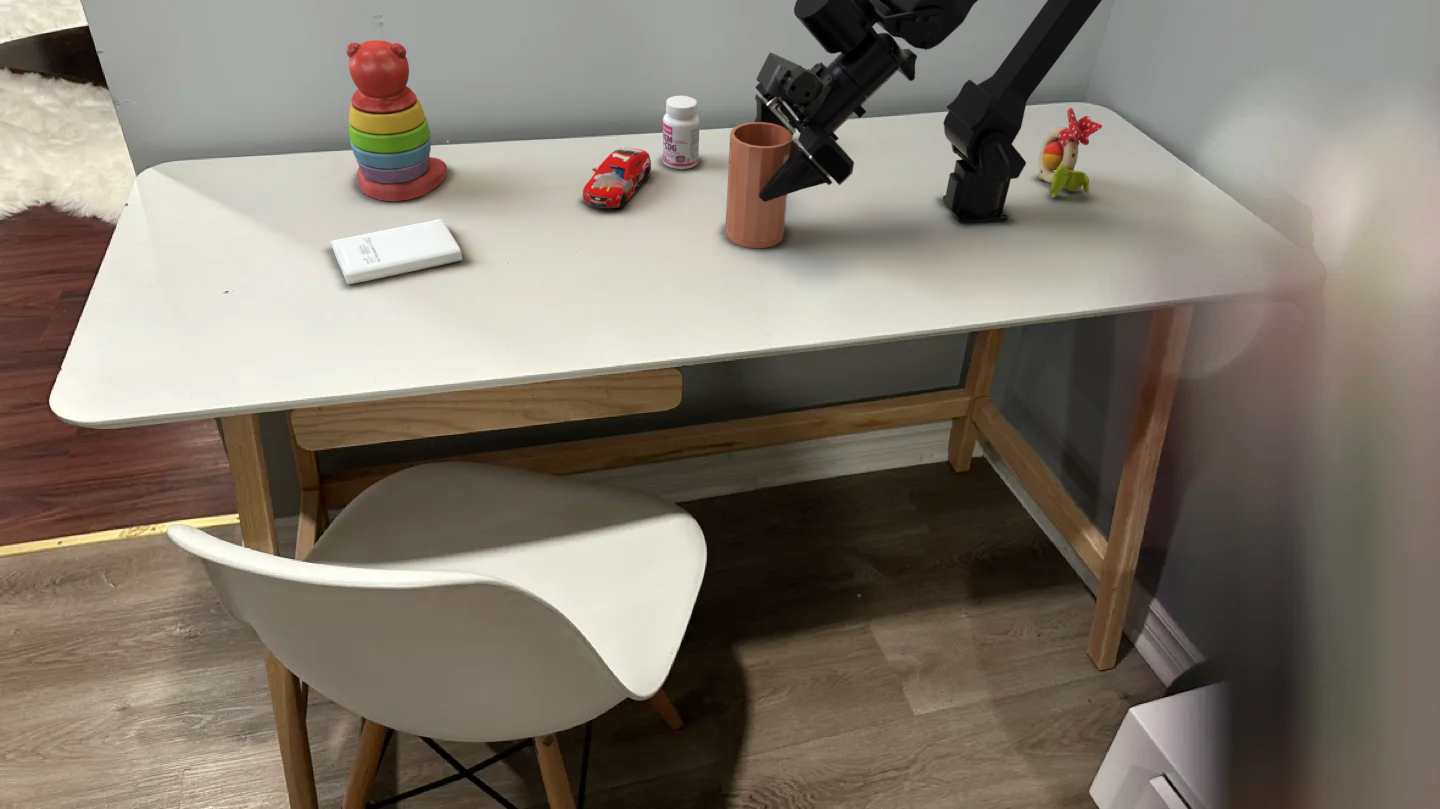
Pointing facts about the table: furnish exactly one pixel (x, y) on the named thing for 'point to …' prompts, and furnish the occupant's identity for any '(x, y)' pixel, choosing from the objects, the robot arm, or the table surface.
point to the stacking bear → (389, 125)
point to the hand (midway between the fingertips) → (748, 180)
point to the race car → (617, 178)
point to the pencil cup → (755, 184)
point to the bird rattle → (1065, 154)
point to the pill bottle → (681, 133)
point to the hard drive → (396, 251)
